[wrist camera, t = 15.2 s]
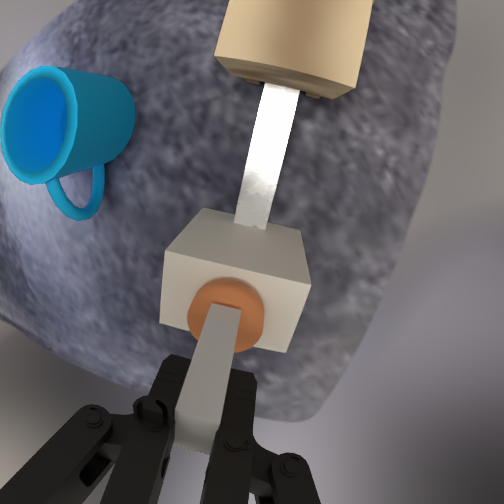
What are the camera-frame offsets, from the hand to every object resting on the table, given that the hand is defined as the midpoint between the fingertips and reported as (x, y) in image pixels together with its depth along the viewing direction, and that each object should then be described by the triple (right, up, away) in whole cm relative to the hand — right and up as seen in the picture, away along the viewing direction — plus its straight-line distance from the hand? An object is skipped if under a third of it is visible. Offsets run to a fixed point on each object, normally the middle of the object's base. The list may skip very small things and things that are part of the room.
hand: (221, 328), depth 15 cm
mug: (-12, +14, +8) cm, 19 cm away
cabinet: (+1, +4, +10) cm, 11 cm away
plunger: (0, +2, +5) cm, 6 cm away
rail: (+3, +14, +6) cm, 16 cm away
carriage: (+4, +18, +4) cm, 19 cm away
